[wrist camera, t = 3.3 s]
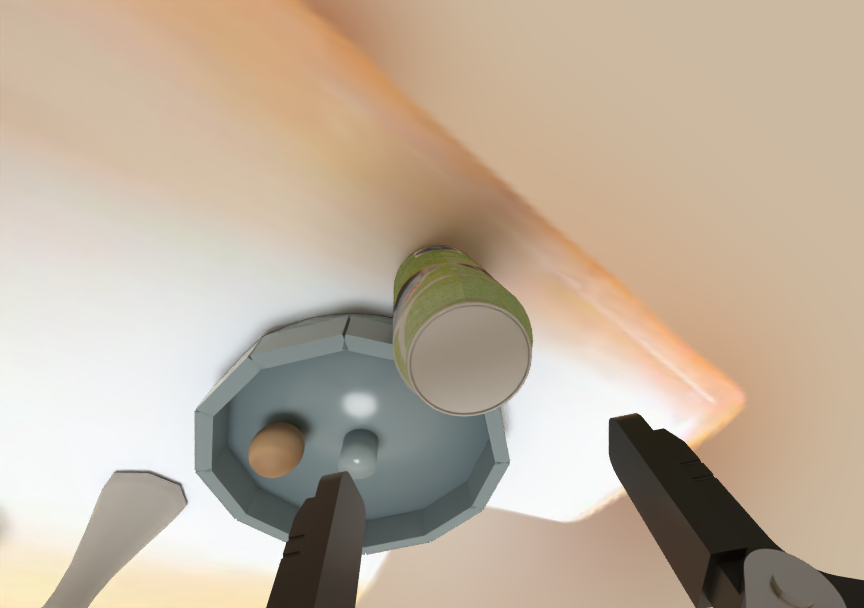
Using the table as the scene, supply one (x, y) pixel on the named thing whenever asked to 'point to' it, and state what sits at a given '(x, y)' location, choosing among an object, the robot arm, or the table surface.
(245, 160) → the table surface
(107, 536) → the flask
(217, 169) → the table surface
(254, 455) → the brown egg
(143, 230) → the table surface
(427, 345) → the beverage can
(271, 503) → the tray
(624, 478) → the robot arm
